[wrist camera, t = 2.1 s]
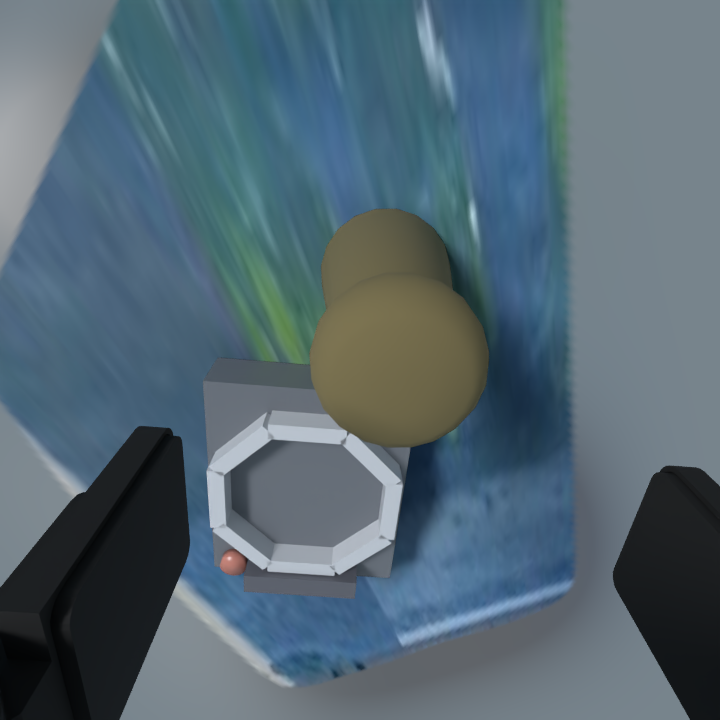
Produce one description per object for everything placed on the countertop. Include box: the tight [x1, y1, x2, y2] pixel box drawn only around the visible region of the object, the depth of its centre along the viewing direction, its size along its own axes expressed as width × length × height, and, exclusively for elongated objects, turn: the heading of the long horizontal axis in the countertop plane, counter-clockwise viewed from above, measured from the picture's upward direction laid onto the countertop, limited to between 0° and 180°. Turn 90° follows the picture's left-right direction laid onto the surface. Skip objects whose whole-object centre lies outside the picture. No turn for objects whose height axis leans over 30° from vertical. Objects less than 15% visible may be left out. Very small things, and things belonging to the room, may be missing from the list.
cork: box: [309, 209, 489, 448], centre depth 18 cm, size 6×6×11 cm
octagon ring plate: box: [203, 358, 411, 599], centre depth 25 cm, size 12×10×4 cm
